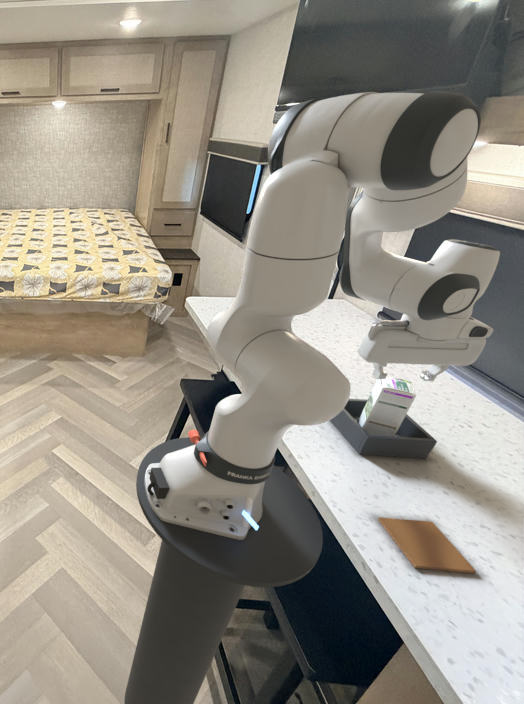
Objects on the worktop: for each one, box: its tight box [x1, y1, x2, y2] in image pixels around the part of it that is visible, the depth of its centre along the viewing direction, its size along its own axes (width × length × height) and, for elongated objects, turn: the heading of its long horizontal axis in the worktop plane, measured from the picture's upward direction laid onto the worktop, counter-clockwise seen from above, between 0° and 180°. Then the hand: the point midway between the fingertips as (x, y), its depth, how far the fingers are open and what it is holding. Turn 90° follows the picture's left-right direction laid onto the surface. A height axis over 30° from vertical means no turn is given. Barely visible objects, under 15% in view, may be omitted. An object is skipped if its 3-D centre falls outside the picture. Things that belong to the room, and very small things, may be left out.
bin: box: [329, 398, 438, 459], centre depth 91 cm, size 14×14×5 cm
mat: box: [377, 517, 477, 574], centre depth 69 cm, size 9×9×1 cm
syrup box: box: [357, 375, 417, 437], centre depth 89 cm, size 6×6×14 cm
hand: (401, 378), depth 85 cm, fingers open, 8 cm apart
